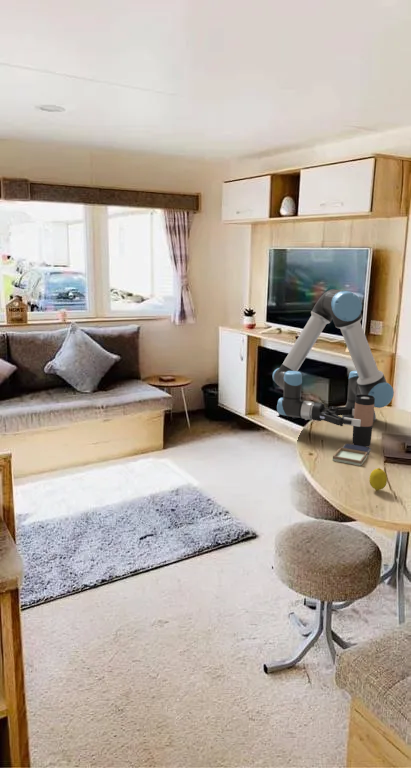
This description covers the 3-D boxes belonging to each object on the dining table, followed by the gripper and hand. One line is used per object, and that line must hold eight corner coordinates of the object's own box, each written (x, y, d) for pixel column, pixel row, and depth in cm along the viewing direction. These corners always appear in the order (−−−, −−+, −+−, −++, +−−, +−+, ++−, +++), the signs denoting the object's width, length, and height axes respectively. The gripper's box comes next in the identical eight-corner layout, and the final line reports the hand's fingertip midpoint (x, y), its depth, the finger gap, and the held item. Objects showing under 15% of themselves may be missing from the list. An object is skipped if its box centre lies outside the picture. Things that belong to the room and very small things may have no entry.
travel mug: (347, 443, 229) (351, 396, 224) (358, 439, 233) (362, 393, 229) (363, 448, 223) (367, 400, 218) (374, 444, 228) (379, 397, 223)
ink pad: (345, 446, 225) (345, 442, 225) (370, 450, 221) (370, 447, 221) (340, 451, 219) (340, 448, 219) (366, 456, 214) (366, 453, 214)
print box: (339, 451, 219) (340, 447, 219) (367, 456, 214) (367, 452, 214) (332, 460, 210) (332, 455, 210) (360, 465, 205) (361, 461, 205)
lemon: (366, 491, 184) (368, 468, 182) (371, 485, 188) (373, 463, 186) (383, 495, 181) (385, 472, 179) (387, 489, 185) (390, 467, 183)
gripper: (321, 412, 246) (370, 419, 236) (303, 427, 225) (356, 436, 215) (322, 395, 244) (371, 402, 235) (304, 409, 223) (357, 417, 213)
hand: (364, 418), depth 225 cm, fingers open, 13 cm apart
